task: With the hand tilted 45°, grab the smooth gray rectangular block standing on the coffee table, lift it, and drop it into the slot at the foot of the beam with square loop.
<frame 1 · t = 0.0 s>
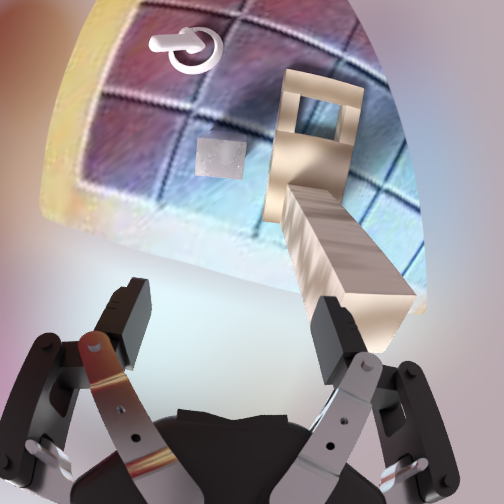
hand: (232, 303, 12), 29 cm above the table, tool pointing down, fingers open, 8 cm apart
beam with square loop: (316, 117, 34), on the table
white vr controller: (195, 50, 29), on the table
smooth gray rectangular block: (226, 145, 36), on the table
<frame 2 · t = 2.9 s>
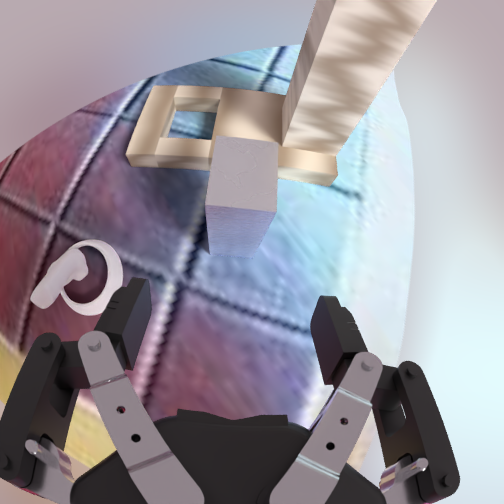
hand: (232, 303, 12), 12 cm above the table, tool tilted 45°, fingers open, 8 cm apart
beam with square loop: (192, 130, 29), on the table
white vr controller: (90, 277, 24), on the table
smooth gray rectangular block: (233, 231, 26), on the table
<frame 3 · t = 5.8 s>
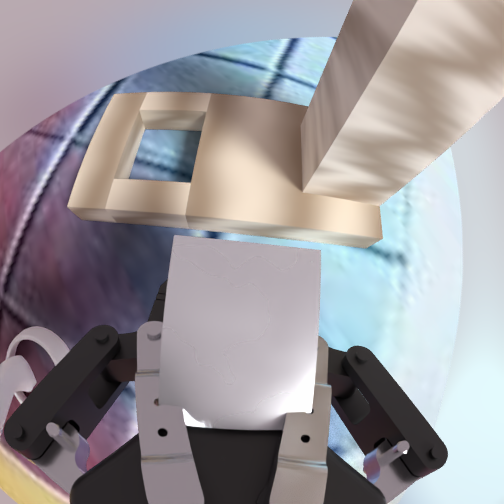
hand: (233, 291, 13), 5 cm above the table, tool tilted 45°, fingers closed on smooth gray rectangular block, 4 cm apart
beam with square loop: (166, 160, 20), on the table
white vr controller: (44, 375, 14), on the table
smooth gray rectangular block: (227, 329, 17), on the table, touching gripper
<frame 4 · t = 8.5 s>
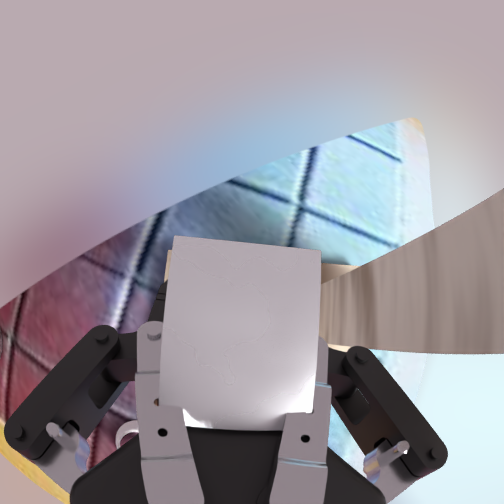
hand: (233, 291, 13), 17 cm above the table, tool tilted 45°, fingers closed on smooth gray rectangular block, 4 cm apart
beam with square loop: (220, 309, 29), on the table
white vr controller: (146, 447, 24), on the table
smooth gray rectangular block: (227, 329, 17), point 12 cm above the table, touching gripper
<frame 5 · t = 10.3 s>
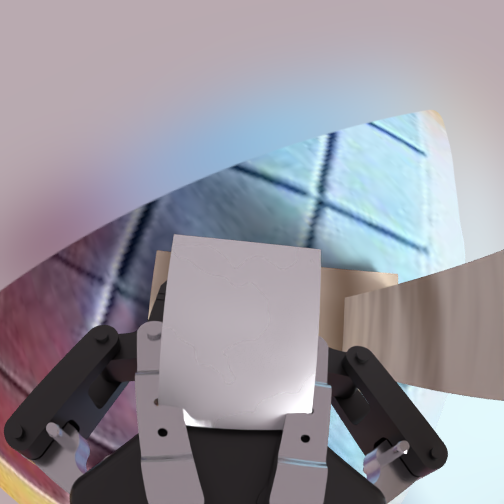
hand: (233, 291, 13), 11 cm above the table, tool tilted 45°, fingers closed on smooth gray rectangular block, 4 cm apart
beam with square loop: (223, 326, 23), on the table
smooth gray rectangular block: (227, 329, 17), point 6 cm above the table, touching gripper
when the fingers open (6 cm above the table, at t = 11.7 s): smooth gray rectangular block drops 1 cm, resting in beam with square loop.
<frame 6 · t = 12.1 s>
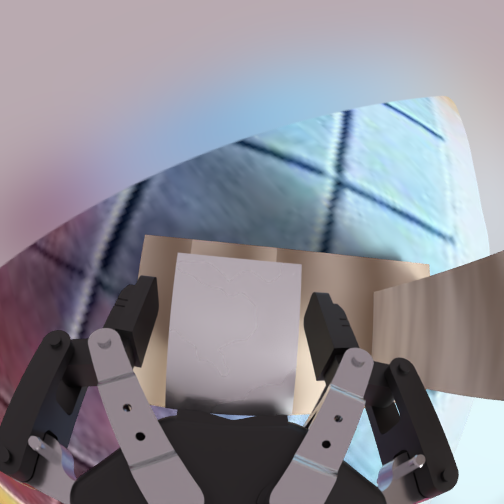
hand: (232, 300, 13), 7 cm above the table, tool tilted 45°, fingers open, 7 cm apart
beam with square loop: (226, 329, 18), on the table
smooth gray rectangular block: (226, 330, 19), resting in beam with square loop
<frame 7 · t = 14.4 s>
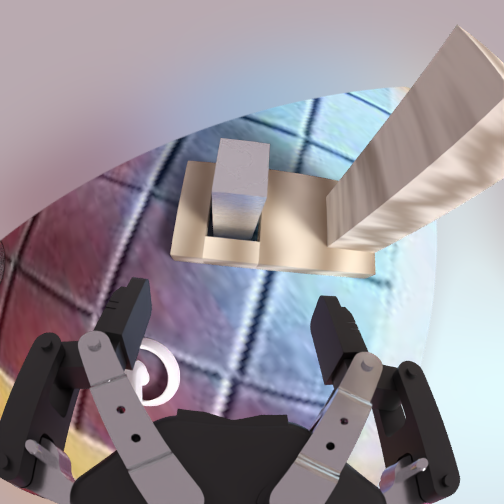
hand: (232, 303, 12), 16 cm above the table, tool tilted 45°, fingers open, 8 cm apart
beam with square loop: (234, 218, 31), on the table
white vr controller: (145, 372, 25), on the table
smooth gray rectangular block: (233, 219, 31), resting in beam with square loop
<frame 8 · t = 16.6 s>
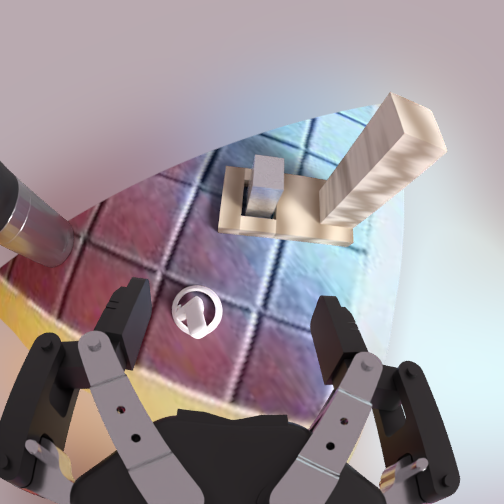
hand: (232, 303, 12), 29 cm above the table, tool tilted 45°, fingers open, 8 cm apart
beam with square loop: (257, 205, 45), on the table
white vr controller: (197, 310, 40), on the table
smooth gray rectangular block: (257, 205, 45), resting in beam with square loop
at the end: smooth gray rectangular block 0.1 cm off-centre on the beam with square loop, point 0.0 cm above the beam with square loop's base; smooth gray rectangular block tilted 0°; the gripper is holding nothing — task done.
